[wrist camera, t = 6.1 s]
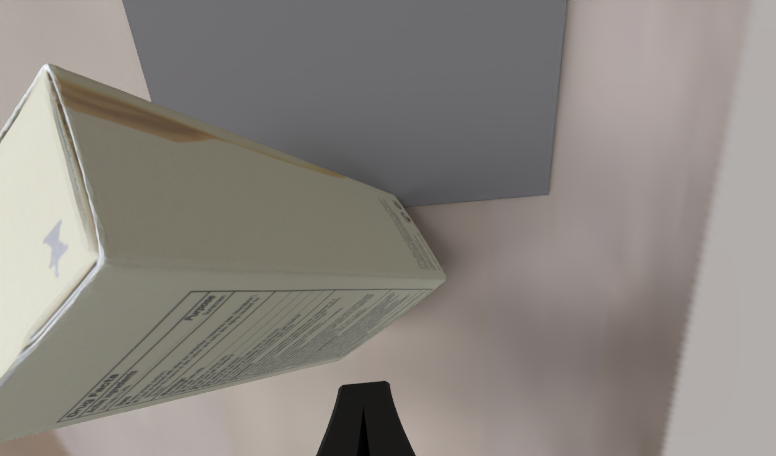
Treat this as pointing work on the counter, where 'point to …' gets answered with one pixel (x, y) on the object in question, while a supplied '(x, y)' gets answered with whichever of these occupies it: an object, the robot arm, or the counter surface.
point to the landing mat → (370, 85)
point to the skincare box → (177, 258)
